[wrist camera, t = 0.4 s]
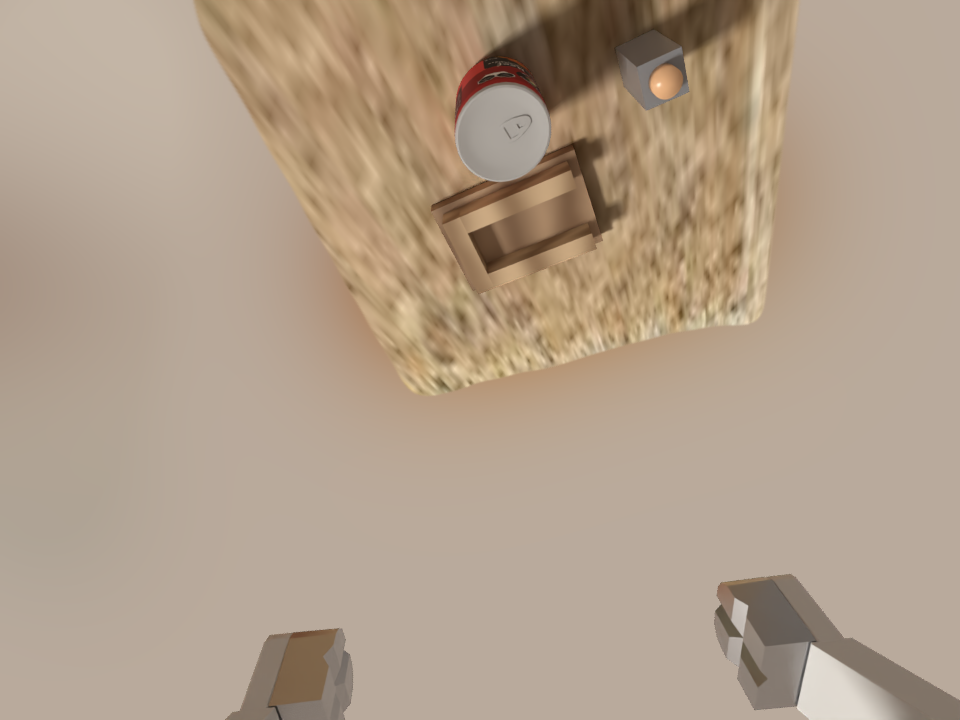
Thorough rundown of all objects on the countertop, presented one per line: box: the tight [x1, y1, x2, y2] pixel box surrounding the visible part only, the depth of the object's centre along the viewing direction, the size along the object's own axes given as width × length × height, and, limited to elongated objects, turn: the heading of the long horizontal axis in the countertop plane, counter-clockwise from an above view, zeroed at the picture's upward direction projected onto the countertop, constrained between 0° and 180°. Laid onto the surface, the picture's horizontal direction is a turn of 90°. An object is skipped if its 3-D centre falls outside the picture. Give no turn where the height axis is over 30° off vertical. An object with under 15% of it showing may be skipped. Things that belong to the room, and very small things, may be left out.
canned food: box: [455, 57, 551, 182], centre depth 48 cm, size 8×8×11 cm
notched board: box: [431, 145, 603, 294], centre depth 58 cm, size 16×11×4 cm
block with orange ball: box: [615, 29, 689, 111], centre depth 46 cm, size 4×4×9 cm
